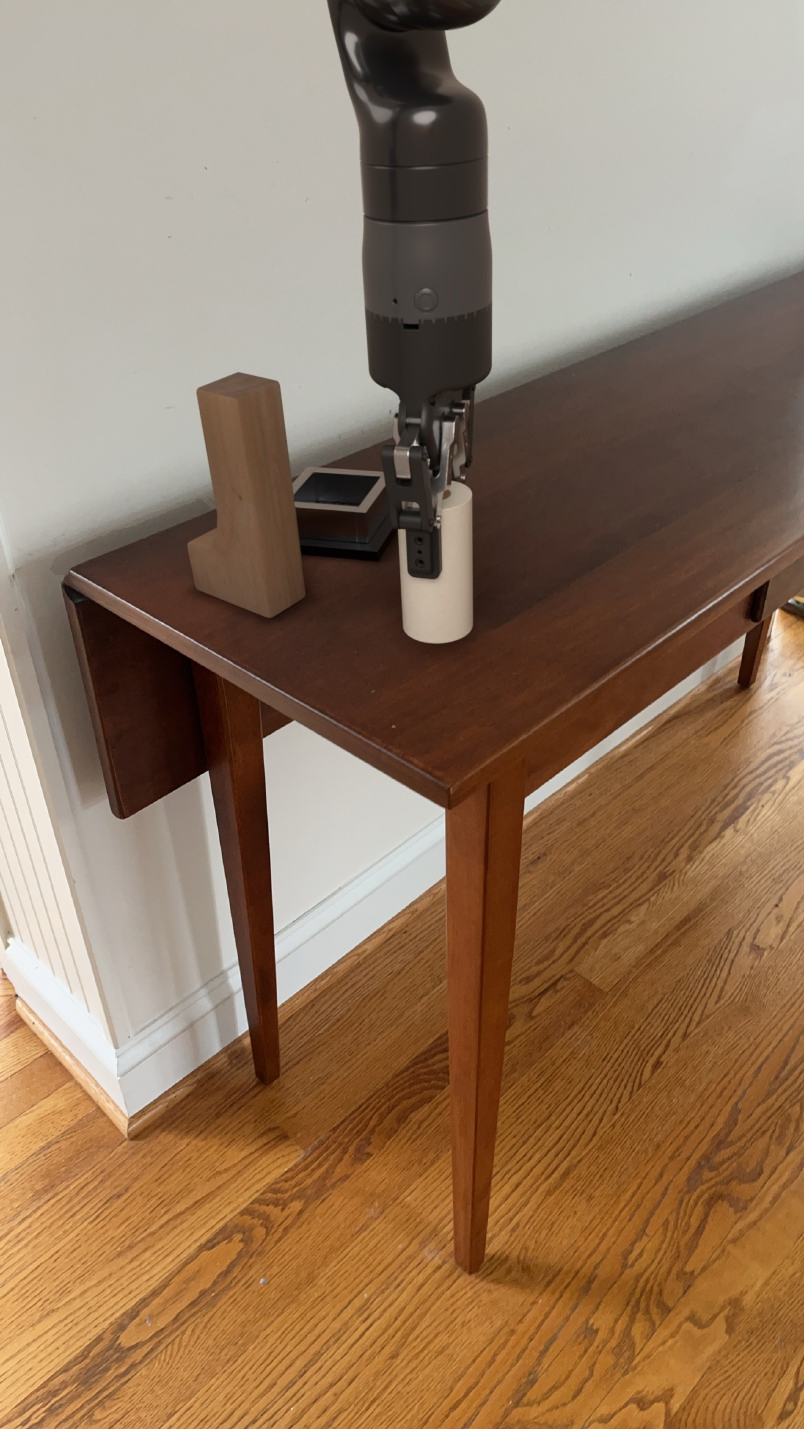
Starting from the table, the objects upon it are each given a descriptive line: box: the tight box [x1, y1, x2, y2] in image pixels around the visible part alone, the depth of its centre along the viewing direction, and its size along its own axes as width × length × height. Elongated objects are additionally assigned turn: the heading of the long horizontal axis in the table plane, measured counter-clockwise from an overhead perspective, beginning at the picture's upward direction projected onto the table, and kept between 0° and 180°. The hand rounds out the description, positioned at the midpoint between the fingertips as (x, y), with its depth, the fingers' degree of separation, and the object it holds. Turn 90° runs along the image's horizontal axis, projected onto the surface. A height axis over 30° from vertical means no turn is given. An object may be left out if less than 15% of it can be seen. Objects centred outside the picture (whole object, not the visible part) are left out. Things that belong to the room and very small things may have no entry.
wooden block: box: [186, 371, 307, 619], centre depth 80 cm, size 9×4×18 cm, turn 52°
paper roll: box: [397, 481, 474, 644], centre depth 70 cm, size 5×5×10 cm
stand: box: [292, 466, 398, 562], centre depth 93 cm, size 11×11×4 cm
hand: (435, 555), depth 70 cm, fingers closed on paper roll, 5 cm apart
